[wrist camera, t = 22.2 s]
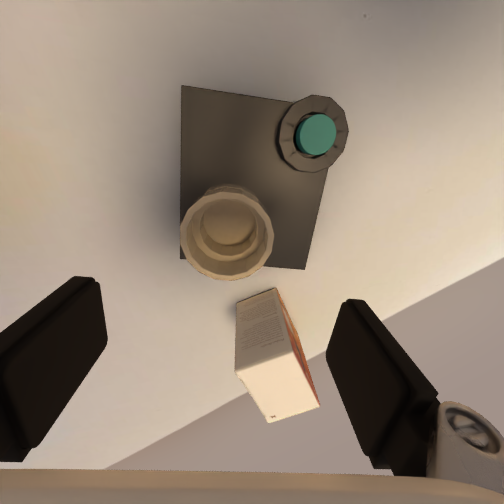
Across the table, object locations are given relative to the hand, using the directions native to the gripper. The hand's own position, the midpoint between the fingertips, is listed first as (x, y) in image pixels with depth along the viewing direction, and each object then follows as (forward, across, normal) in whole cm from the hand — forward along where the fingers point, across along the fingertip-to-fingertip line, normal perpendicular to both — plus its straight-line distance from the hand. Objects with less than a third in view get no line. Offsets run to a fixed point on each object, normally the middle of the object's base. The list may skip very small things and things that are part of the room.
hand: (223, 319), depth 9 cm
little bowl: (+16, 0, +1) cm, 16 cm away
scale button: (+15, -6, -8) cm, 18 cm away
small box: (+18, -6, +14) cm, 23 cm away
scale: (+18, -2, -2) cm, 18 cm away
